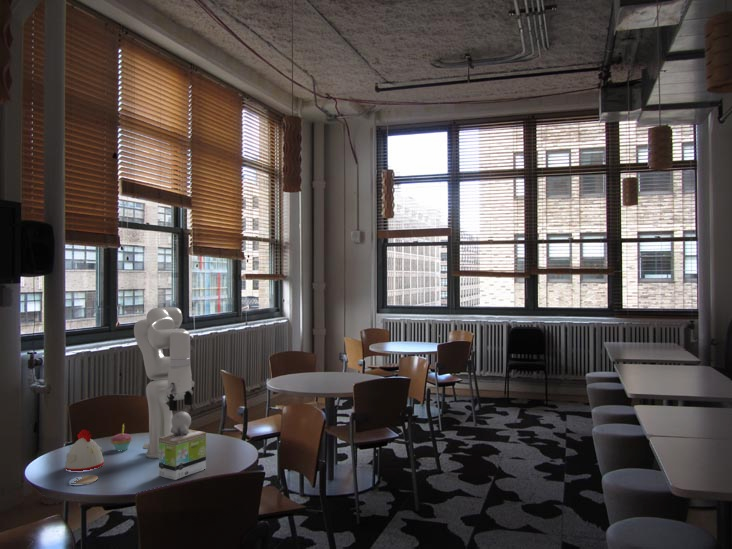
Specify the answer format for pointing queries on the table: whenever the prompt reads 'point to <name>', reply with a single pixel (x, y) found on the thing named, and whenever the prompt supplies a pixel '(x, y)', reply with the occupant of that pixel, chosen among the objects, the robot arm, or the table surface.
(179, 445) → the tea box
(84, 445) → the white cream cake
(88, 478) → the cork coaster
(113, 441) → the cupcake
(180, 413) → the chubby cartoon animal
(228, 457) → the table surface
